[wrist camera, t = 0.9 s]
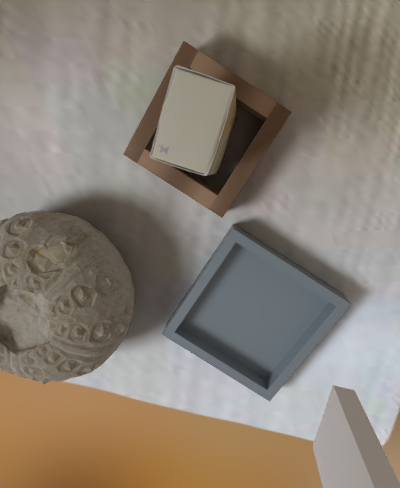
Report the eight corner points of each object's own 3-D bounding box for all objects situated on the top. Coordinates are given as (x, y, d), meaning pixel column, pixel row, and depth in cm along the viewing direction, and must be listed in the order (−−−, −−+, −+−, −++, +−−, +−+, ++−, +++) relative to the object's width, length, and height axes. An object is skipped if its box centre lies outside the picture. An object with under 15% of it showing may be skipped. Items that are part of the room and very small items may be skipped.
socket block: (134, 154, 35) (123, 154, 32) (189, 52, 33) (183, 40, 29) (224, 212, 36) (222, 217, 32) (286, 116, 33) (291, 111, 30)
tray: (166, 323, 40) (161, 334, 37) (233, 223, 36) (232, 228, 34) (267, 386, 40) (269, 401, 38) (343, 294, 37) (351, 304, 34)
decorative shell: (-1, 192, 38) (-82, 203, 29) (154, 220, 37) (124, 242, 27) (-2, 334, 43) (-72, 385, 33) (136, 363, 42) (105, 425, 32)
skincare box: (218, 174, 35) (206, 182, 23) (177, 161, 35) (146, 162, 23) (239, 110, 33) (238, 84, 22) (196, 96, 33) (173, 62, 22)
